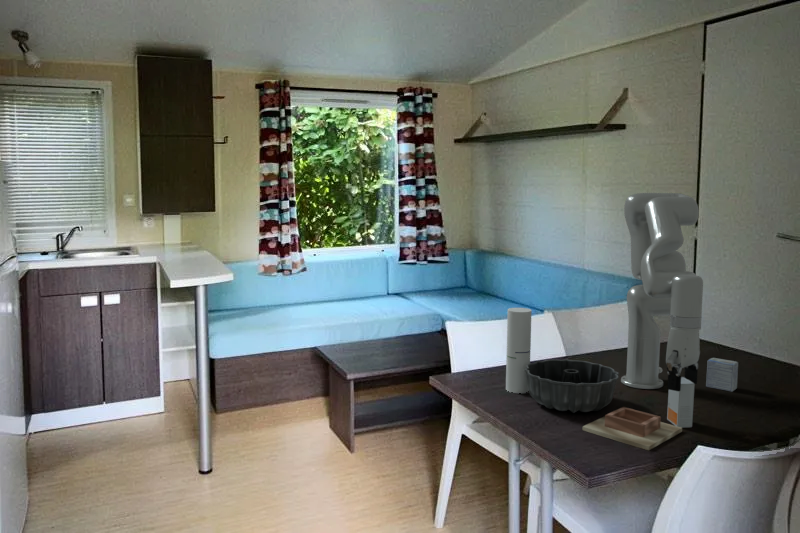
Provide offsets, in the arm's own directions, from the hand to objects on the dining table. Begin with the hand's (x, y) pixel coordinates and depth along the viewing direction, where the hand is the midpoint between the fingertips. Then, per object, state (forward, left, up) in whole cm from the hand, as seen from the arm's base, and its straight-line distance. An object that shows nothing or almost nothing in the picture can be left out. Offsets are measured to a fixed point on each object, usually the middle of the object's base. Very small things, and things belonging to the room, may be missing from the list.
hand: (682, 386), depth 179 cm
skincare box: (-1, 0, -11) cm, 11 cm away
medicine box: (-41, -5, -11) cm, 42 cm away
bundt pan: (+6, -29, -11) cm, 32 cm away
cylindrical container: (+7, -47, -11) cm, 49 cm away
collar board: (+13, -6, -10) cm, 18 cm away
